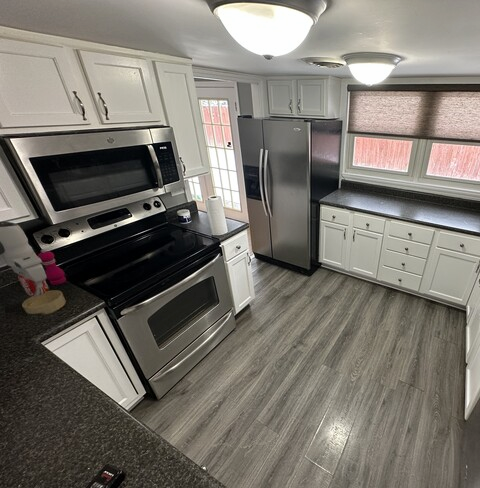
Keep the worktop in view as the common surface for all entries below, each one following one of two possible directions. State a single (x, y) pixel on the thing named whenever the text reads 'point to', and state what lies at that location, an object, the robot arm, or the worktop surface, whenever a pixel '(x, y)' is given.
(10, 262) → the robot arm
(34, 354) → the worktop surface
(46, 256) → the pepper mill
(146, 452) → the worktop surface
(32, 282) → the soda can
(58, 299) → the beige oval piece
